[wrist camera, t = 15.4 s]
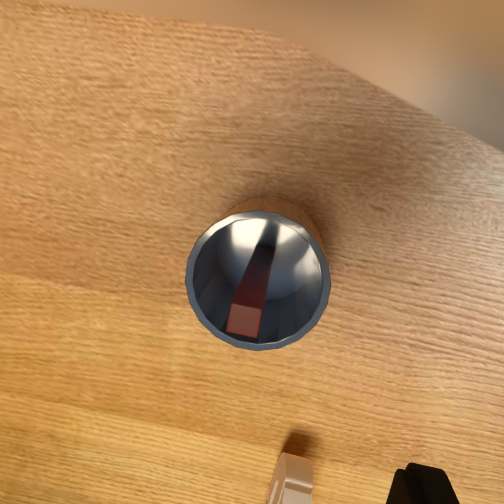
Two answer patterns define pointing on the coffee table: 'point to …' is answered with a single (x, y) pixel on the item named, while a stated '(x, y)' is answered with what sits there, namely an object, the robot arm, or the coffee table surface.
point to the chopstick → (251, 294)
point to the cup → (281, 278)
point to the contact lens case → (291, 481)
